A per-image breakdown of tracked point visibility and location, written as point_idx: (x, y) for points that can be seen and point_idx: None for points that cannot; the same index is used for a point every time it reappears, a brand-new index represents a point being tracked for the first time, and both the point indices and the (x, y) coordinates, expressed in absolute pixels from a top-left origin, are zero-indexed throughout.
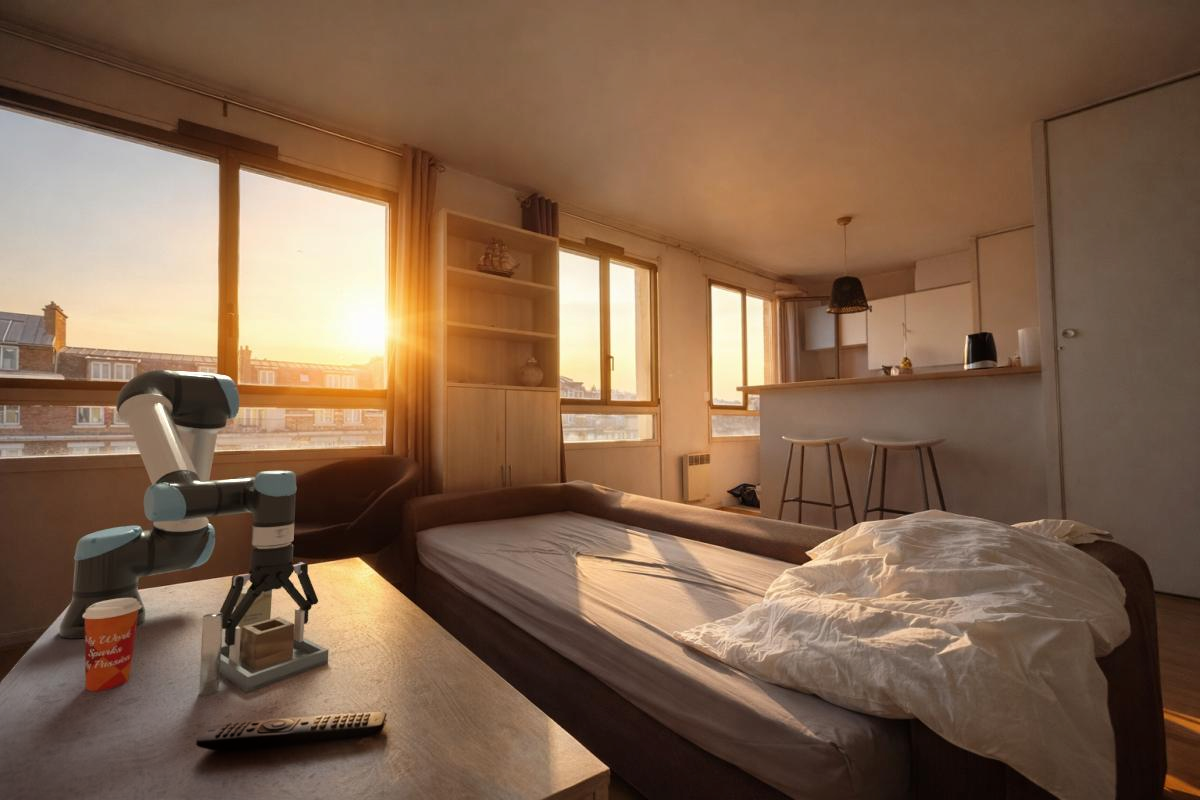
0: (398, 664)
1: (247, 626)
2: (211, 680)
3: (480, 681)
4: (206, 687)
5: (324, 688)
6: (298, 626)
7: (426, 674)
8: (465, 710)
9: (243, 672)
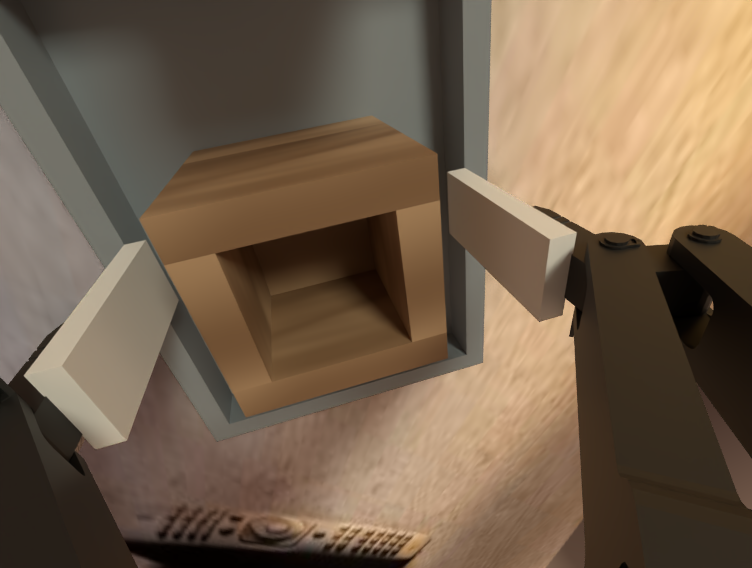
0: (557, 413)
1: (182, 240)
2: None
3: (576, 506)
4: None
5: (393, 448)
6: (484, 248)
7: (553, 466)
8: (504, 554)
9: (201, 405)
